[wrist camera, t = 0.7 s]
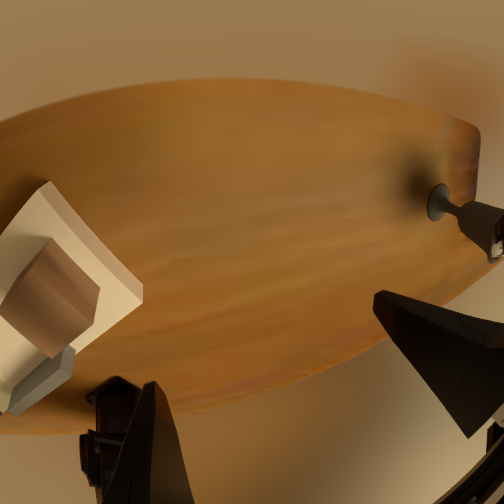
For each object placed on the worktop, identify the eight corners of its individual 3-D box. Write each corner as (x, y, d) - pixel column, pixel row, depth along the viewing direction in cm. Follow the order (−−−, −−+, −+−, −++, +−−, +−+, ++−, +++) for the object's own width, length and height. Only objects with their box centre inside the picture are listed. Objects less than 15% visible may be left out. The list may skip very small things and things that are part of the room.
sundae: (452, 214, 31) (538, 264, 19) (423, 235, 31) (517, 298, 18) (451, 169, 28) (551, 215, 15) (421, 188, 27) (533, 245, 14)
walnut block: (61, 322, 18) (51, 358, 14) (15, 278, 15) (-4, 312, 12) (100, 287, 18) (93, 324, 14) (51, 237, 15) (32, 267, 12)
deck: (6, 398, 21) (3, 413, 19) (-57, 344, 15) (-64, 358, 13) (142, 284, 22) (142, 302, 19) (50, 180, 16) (37, 189, 13)
